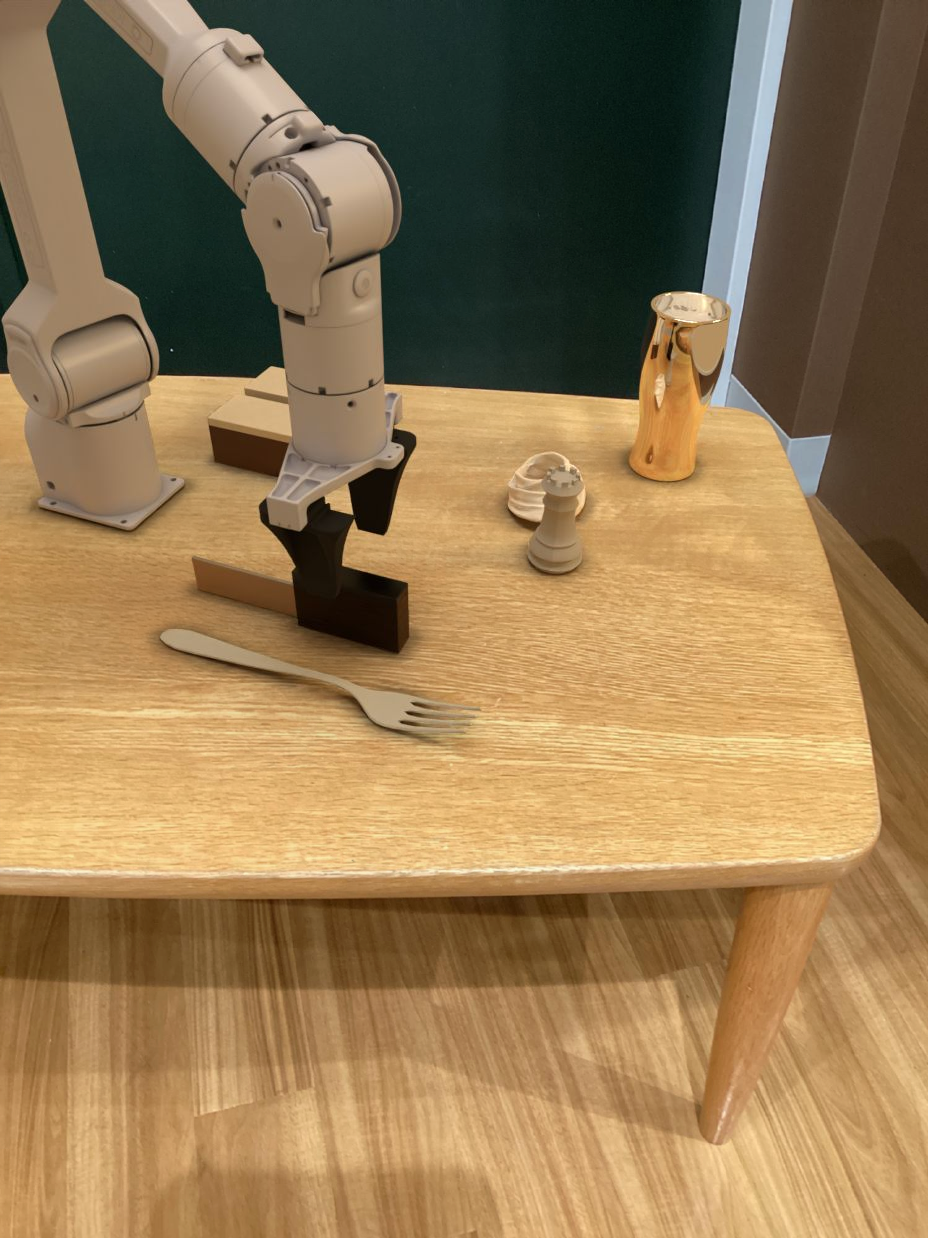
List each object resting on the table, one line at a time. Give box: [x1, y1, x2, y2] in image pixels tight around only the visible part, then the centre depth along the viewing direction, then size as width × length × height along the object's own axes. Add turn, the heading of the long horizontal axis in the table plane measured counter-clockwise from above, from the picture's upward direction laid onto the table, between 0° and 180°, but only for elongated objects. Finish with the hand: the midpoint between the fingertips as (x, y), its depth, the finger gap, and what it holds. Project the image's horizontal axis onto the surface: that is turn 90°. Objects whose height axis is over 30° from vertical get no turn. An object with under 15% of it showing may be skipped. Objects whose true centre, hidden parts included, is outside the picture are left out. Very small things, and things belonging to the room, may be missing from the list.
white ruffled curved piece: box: [507, 451, 587, 523], centre depth 78 cm, size 8×7×5 cm
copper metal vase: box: [628, 290, 732, 482], centre depth 81 cm, size 7×7×15 cm
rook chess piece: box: [526, 465, 585, 575], centre depth 71 cm, size 4×4×8 cm
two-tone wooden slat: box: [191, 555, 410, 654], centre depth 66 cm, size 17×2×5 cm, turn 69°
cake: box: [206, 393, 292, 478], centre depth 83 cm, size 10×5×4 cm, turn 69°
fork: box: [159, 628, 484, 735], centre depth 62 cm, size 3×24×2 cm, turn 67°
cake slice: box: [243, 365, 289, 405], centre depth 88 cm, size 10×5×4 cm, turn 69°
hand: (348, 560), depth 63 cm, fingers open, 7 cm apart
